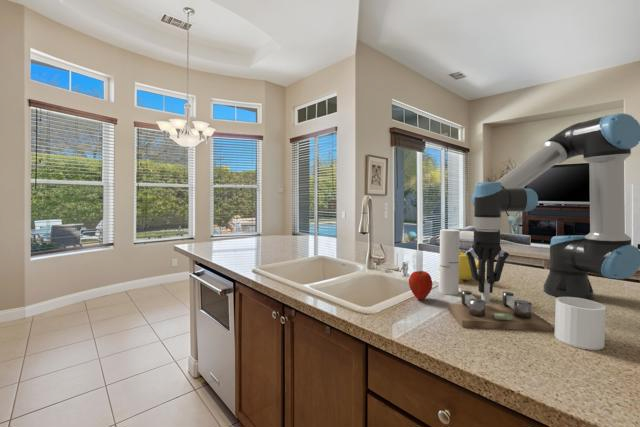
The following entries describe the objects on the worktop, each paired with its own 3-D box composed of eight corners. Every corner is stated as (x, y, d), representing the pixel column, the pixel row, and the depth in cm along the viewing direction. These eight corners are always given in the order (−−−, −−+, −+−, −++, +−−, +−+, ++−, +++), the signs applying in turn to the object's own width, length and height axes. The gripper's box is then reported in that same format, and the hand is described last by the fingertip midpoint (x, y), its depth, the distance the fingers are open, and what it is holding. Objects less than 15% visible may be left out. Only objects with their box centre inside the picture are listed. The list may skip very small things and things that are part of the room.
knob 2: (534, 318, 89) (535, 305, 89) (518, 318, 90) (518, 304, 90) (512, 303, 102) (512, 291, 102) (498, 303, 103) (499, 291, 102)
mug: (603, 355, 73) (605, 313, 73) (551, 341, 80) (552, 303, 80) (605, 337, 82) (607, 300, 82) (558, 326, 89) (559, 292, 89)
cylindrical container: (460, 295, 118) (461, 231, 117) (440, 294, 120) (441, 230, 118) (456, 289, 125) (457, 229, 124) (437, 289, 126) (438, 229, 125)
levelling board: (523, 312, 100) (524, 301, 100) (550, 330, 86) (551, 317, 86) (447, 309, 103) (448, 298, 103) (462, 327, 89) (462, 314, 89)
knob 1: (487, 316, 91) (488, 303, 91) (472, 316, 92) (472, 303, 91) (471, 302, 104) (472, 290, 103) (458, 301, 104) (458, 290, 104)
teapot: (492, 282, 136) (493, 251, 135) (473, 288, 127) (474, 255, 126) (450, 273, 152) (451, 246, 152) (431, 278, 143) (432, 249, 143)
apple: (415, 294, 120) (415, 267, 119) (436, 299, 114) (436, 270, 113) (404, 299, 114) (404, 270, 113) (425, 304, 108) (426, 274, 107)
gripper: (502, 229, 101) (501, 299, 102) (461, 228, 102) (460, 297, 104) (514, 231, 93) (512, 307, 95) (469, 231, 95) (468, 305, 96)
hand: (485, 302), depth 99 cm, fingers closed
